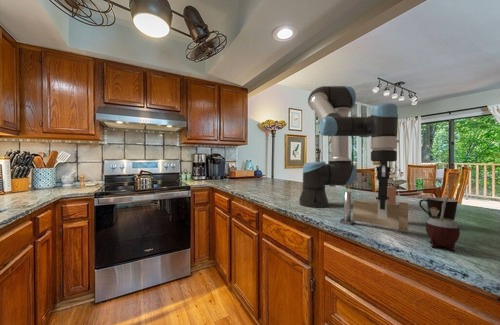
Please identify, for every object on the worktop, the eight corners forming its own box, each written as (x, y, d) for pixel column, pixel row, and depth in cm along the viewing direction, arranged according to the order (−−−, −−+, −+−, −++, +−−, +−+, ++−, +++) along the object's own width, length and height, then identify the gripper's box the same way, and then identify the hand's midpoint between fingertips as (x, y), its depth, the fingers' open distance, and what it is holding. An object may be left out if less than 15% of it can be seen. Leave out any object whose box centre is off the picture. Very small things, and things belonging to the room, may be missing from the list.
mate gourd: (439, 241, 63) (440, 192, 62) (470, 253, 55) (471, 197, 55) (417, 243, 62) (418, 192, 61) (446, 255, 54) (447, 197, 54)
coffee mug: (463, 230, 73) (464, 202, 73) (435, 228, 75) (436, 201, 75) (440, 220, 85) (441, 196, 85) (416, 219, 86) (417, 195, 86)
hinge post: (344, 220, 84) (344, 190, 84) (354, 222, 81) (355, 192, 81) (339, 222, 81) (340, 191, 81) (350, 224, 78) (351, 193, 78)
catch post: (387, 222, 81) (387, 187, 81) (380, 220, 85) (380, 185, 85) (395, 222, 82) (395, 187, 82) (387, 219, 85) (388, 185, 85)
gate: (353, 220, 81) (354, 197, 81) (407, 229, 71) (408, 203, 71) (352, 221, 79) (352, 198, 79) (407, 231, 69) (408, 204, 69)
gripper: (398, 148, 64) (396, 225, 64) (395, 150, 75) (394, 215, 75) (370, 149, 68) (368, 220, 68) (371, 151, 79) (370, 212, 79)
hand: (382, 218), depth 72 cm, fingers closed
